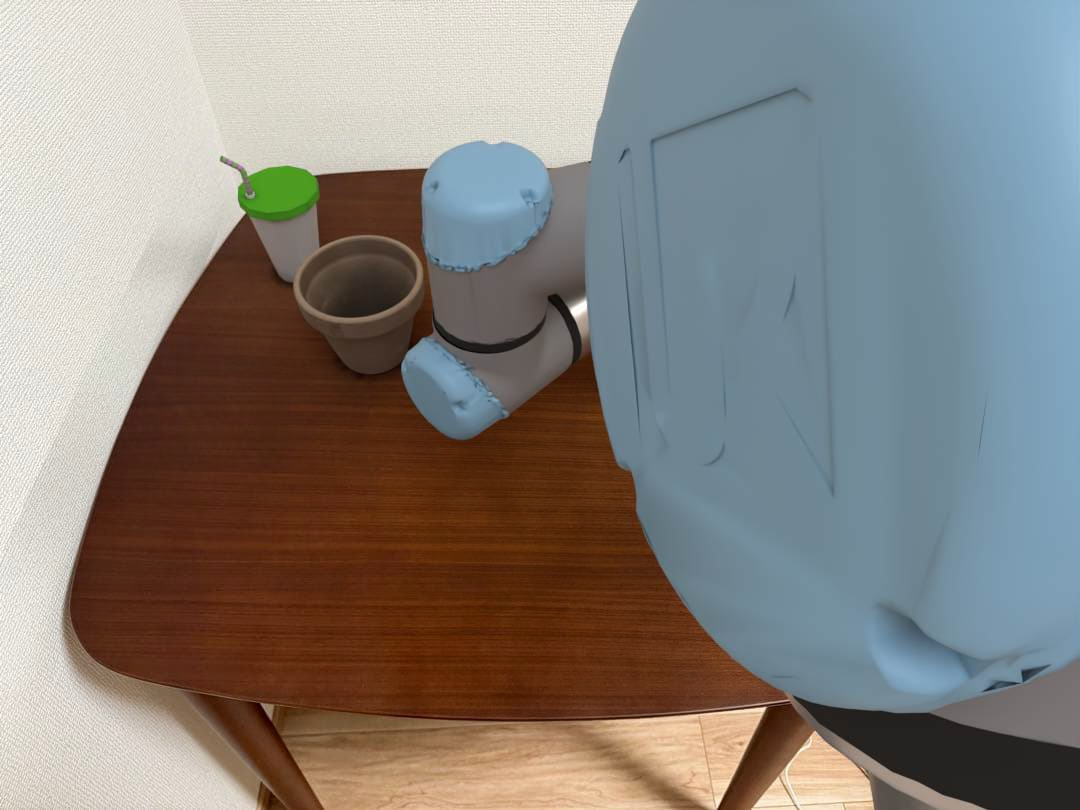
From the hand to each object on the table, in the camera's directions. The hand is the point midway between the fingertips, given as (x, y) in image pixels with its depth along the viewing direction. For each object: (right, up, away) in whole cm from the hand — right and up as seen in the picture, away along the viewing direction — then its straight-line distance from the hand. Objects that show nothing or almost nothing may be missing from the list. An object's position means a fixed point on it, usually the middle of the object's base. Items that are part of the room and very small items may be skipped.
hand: (760, 173), depth 73 cm
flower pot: (-36, -16, +7) cm, 40 cm away
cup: (-45, -6, +15) cm, 48 cm away
